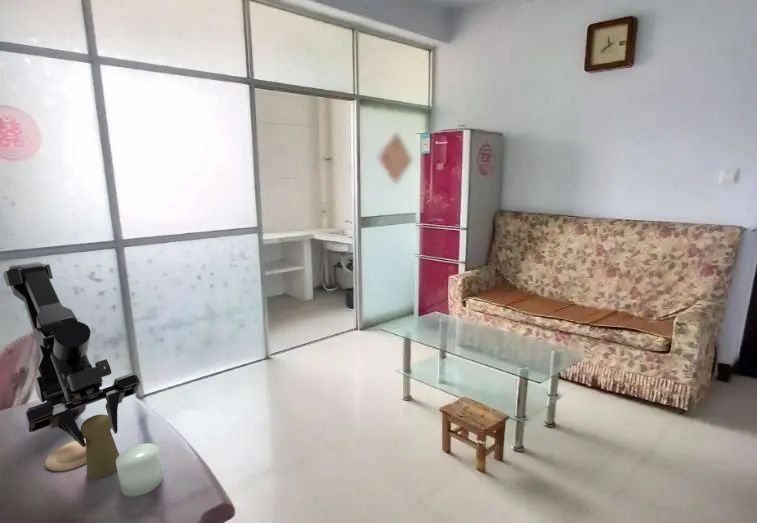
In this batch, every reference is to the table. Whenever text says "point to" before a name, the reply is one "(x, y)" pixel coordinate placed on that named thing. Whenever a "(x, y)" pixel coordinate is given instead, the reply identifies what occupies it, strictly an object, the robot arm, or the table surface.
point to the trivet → (67, 457)
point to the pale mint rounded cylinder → (139, 469)
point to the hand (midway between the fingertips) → (100, 439)
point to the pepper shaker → (99, 446)
